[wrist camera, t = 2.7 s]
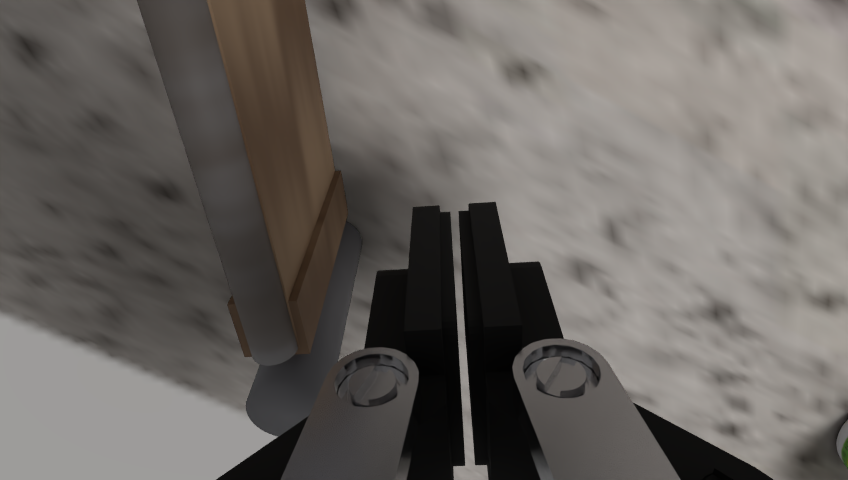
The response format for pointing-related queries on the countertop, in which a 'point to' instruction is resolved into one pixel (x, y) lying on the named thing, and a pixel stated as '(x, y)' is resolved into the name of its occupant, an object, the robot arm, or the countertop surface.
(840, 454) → the supplement bottle
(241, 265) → the gate
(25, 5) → the countertop surface
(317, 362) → the post
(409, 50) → the countertop surface
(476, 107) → the countertop surface
